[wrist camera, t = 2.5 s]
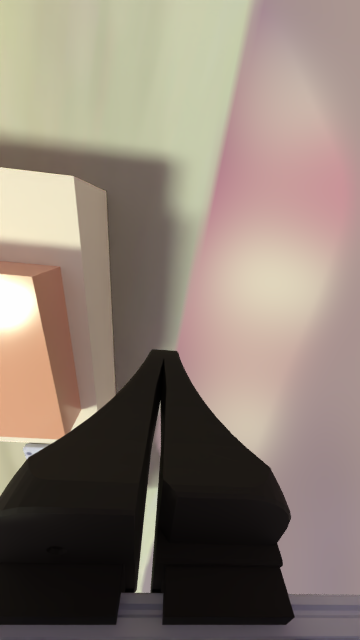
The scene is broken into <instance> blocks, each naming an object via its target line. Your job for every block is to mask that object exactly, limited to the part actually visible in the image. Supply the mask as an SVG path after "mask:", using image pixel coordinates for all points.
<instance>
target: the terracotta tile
mask: <svg viewBox="0 0 360 640" xmlns="http://www.w3.org/2000/svg"><path fill="white" fill-rule="evenodd" d="M80 411H81V404H80V397H79V390H78V384H77V377H76V370H75V363H74V356H73V350H72V343H71V336H70V329H69V322H68V315H67V309H66V302H65V295H64V288H63V281H62V275H61V268H60V266H50V265H40V264H29V263H18V262H8V261H0V437H18V438H39V439H60V438H61V437H63V436H64V435H66V434H67V433H69V432H70V431H71V429H72V427H73V425H74V423H75V421H76V419H77V417H78V415H79V413H80Z"/></svg>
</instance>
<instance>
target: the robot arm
mask: <svg viewBox="0 0 360 640" xmlns="http://www.w3.org/2000/svg"><path fill="white" fill-rule="evenodd" d="M160 400H161V457H160V471H159V484H158V498H157V512H156V525H155V539H154V552H153V553H154V554H153V567H152V579H151V593H135V591H136V590H137V581H138V571H139V561H140V551H141V541H142V532H143V522H144V512H145V503H146V493H147V484H148V474H149V465H150V455H151V448H152V442H153V436H154V431H155V426H156V421H157V416H158V410H159V405H160ZM23 451H24V454H25V456H26V459H27V460H26V461H25V463H24V464H23V465H22V467H21V468H20V469H19V470H18V472H17V473H16V474H15V475H14V477H13V478H12V480H11V481H10V482H9V484H8V485H7V487H6V488H5V490H4V491H3V493H2V495H1V496H0V640H360V595H319V594H318V595H317V594H314V595H312V594H288V593H287V589H286V586H285V583H284V579H283V576H282V573H281V570H280V567H281V566H282V565H283V562H282V557H281V554H280V551H279V548H278V545H277V542H278V541H279V539H280V538H281V536H282V535H283V533H284V532H285V530H286V529H287V527H288V524H289V522H290V519H291V515H290V510H289V508H288V505H287V502H286V500H285V497H284V495H283V493H282V491H281V489H280V486H279V484H278V483H277V480H276V478H275V476H274V475H273V473H272V471H271V469H270V467H269V466H268V465H266V464H265V463H264V462H263V461H262V460H260V459H259V458H258V457H257V456H256V455H255V454H253V453H252V452H251V451H250V450H249V449H247V448H246V447H245V446H244V445H243V444H242V443H241V442H240V441H238V439H237V438H236V437H234V436H233V435H232V434H231V433H230V431H229V430H228V429H227V428H226V427H225V426H224V425H223V424H222V423H221V422H220V421H219V420H218V419H217V418H216V416H215V415H214V414H213V413H212V411H211V410H210V409H209V408H208V406H207V405H206V404H205V402H204V401H203V400H202V398H201V397H200V395H199V394H198V392H197V391H196V389H195V388H194V386H193V384H192V383H191V381H190V379H189V377H188V375H187V373H186V371H185V369H184V367H183V365H182V363H181V360H180V357H179V354H178V352H177V351H168V350H155V349H153V350H151V351H150V353H149V355H148V357H147V358H146V360H145V361H144V363H143V364H142V366H141V367H140V368H139V370H138V371H137V372H136V374H135V375H134V376H133V377H132V378H131V379H130V381H129V382H128V383H127V384H126V385H125V386H124V387H123V388H122V389H121V390H120V391H119V392H118V393H117V394H116V395H115V396H114V397H113V398H112V399H111V400H110V401H109V402H108V403H106V404H105V405H104V406H103V407H102V408H101V409H99V410H98V411H97V412H96V413H95V414H93V415H92V416H91V417H90V418H88V419H87V420H85V421H84V422H83V423H81V424H80V425H78V426H77V427H76V428H74V429H73V430H72V431H70V432H69V433H67V434H66V435H64V436H63V437H61V438H60V439H58V440H56V441H55V442H53V443H51V444H32V443H28V444H26V445H25V446H24V448H23Z"/></svg>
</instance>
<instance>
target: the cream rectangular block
mask: <svg viewBox="0 0 360 640" xmlns="http://www.w3.org/2000/svg"><path fill="white" fill-rule="evenodd" d="M0 261H8V262H18V263H29V264H40V265H50V266H60V268H61V275H62V281H63V288H64V295H65V302H66V309H67V315H68V322H69V329H70V336H71V343H72V350H73V356H74V363H75V370H76V377H77V384H78V390H79V397H80V404H81V411H80V413H79V415H78V417H77V419H76V421H75V423H74V425H73V427H72V429H71V431H72V430H73V429H74V428H76V427H77V426H78V425H80V424H81V423H83V422H84V421H85V420H87V419H88V418H90V417H91V416H92V415H93V414H95V413H96V412H97V411H98V410H99V409H101V408H102V407H103V406H104V405H105V404H106V403H108V402H109V401H110V400H111V399H112V398H113V397H114V396H115V395H116V390H115V369H114V347H113V325H112V304H111V282H110V261H109V239H108V218H107V196H106V191H105V190H102V189H100V188H98V187H96V186H94V185H92V184H90V183H87V182H85V181H83V180H81V179H79V178H77V177H75V176H69V175H61V174H52V173H44V172H35V171H27V170H18V169H10V168H1V167H0ZM56 440H58V439H39V438H18V437H0V441H7V442H28V443H49V444H51V443H53V442H55V441H56Z"/></svg>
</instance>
